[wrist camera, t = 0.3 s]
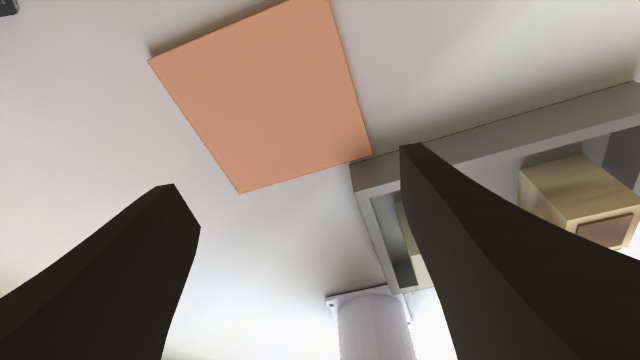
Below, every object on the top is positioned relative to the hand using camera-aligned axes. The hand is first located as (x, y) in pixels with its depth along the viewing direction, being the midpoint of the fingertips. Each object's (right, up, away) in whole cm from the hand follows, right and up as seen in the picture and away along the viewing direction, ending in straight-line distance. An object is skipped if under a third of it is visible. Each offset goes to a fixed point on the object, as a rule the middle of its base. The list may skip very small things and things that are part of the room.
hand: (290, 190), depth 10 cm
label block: (+18, 0, +12) cm, 21 cm away
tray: (+13, -1, +13) cm, 19 cm away
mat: (-2, +5, +9) cm, 10 cm away
